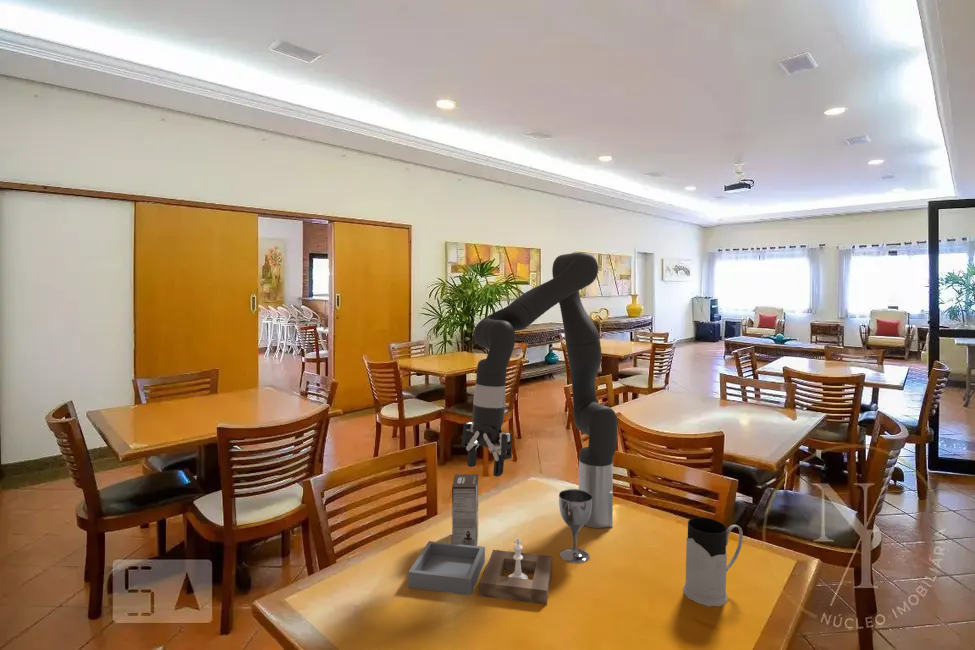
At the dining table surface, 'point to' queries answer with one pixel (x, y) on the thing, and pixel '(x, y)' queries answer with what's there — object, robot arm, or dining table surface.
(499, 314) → the robot arm
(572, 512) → the wine glass
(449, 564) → the tray
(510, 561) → the socket block
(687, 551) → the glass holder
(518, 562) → the chess piece
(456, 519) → the coffee box
